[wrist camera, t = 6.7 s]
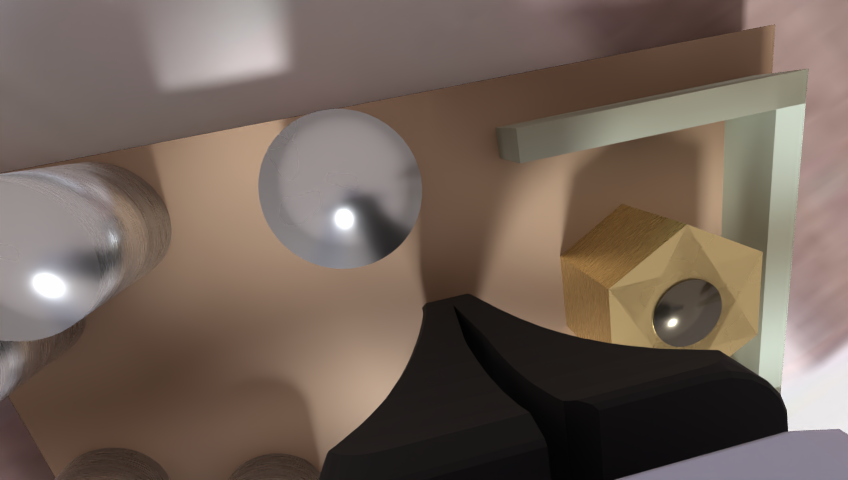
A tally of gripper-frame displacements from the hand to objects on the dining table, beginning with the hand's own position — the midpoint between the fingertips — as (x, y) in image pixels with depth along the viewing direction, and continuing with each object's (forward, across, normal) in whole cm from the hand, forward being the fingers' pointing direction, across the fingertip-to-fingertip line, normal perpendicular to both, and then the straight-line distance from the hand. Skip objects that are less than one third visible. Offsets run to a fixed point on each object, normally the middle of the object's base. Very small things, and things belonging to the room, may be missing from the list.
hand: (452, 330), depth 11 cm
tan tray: (+2, +1, 0) cm, 2 cm away
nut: (+1, -6, 0) cm, 6 cm away
